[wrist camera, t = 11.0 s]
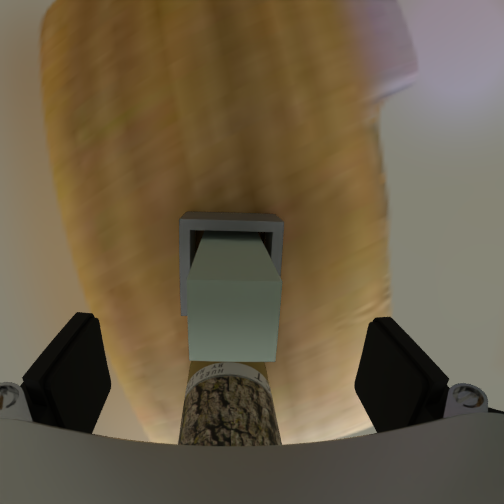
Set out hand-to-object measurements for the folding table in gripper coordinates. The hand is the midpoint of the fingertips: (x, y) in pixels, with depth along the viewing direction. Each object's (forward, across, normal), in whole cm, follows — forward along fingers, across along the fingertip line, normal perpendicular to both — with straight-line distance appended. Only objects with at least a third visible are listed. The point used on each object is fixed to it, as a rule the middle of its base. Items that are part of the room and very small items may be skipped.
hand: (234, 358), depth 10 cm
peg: (+16, 0, +1) cm, 16 cm away
